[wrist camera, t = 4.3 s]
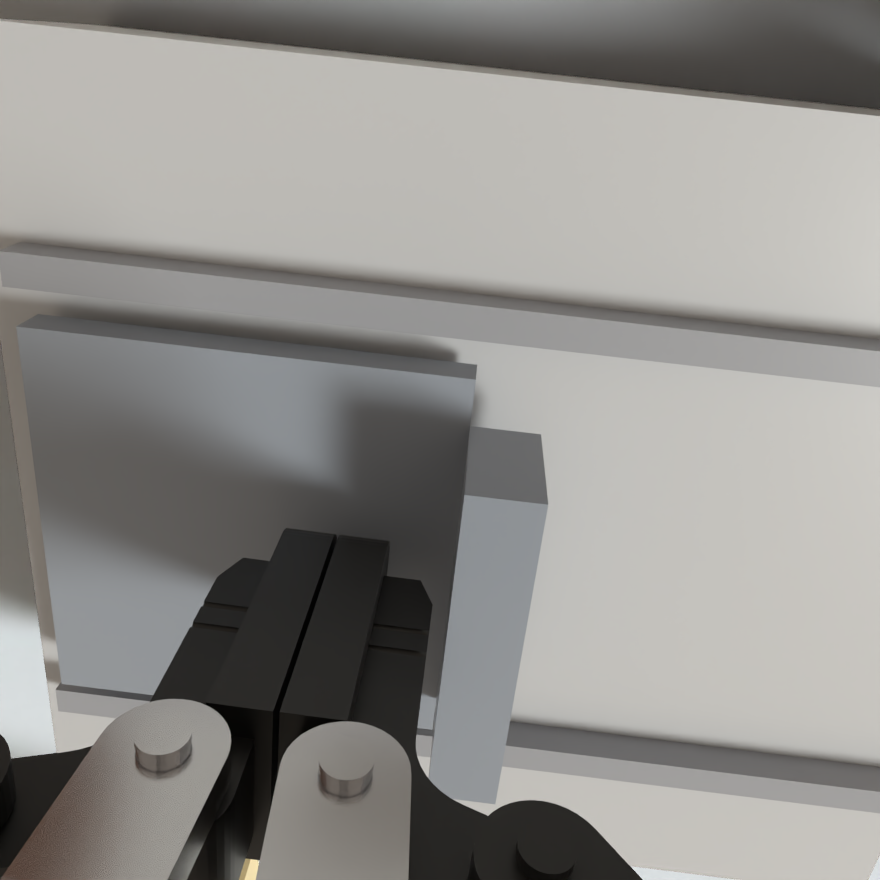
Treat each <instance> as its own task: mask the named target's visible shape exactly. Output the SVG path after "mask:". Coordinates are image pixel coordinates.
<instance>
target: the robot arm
mask: <svg viewBox="0 0 880 880" xmlns="http://www.w3.org/2000/svg"><path fill="white" fill-rule="evenodd" d="M389 549H390V541H386V540H378V539H370V538H362V537H355V536H347V535H339V537H338V539H337V535H336V534H330V533H322V532H314V531H307V530H299V529H291V528H285V529H284V531H283V533H282V535H281V537H280V539H279V542H278V544H277V546H276V548H275V550H274V553H273V555H272V557H271V559H270V561H266V560H258V559H250V558H242V559H240V560H239V561H238V562H236V563H235V564H234V565H232V566H231V567H230V568H228V569H227V570H226V571H224V572H223V573H222V574H220V575H219V576H218V577H217V578H216V580H215V582H214V584H213V585H212V587H211V589H210V591H209V593H208V595H207V596H206V598H205V600H204V604H203V606H201V608H200V609H199V611H198V613H197V615H196V617H195V619H194V621H193V625H192V627H190V628H189V630H188V632H187V634H186V635H185V637H184V639H183V641H182V643H181V645H180V647H179V648H178V650H177V652H176V654H175V656H174V658H173V660H172V661H171V663H170V665H169V667H168V669H167V671H166V673H165V674H164V676H163V678H162V680H161V682H160V684H159V686H158V687H157V689H156V691H155V693H154V695H153V697H152V699H151V700H150V702H149V703H145V704H142V705H140V706H137V707H135V708H133V709H131V710H129V711H127V712H125V713H123V714H122V715H120V716H119V717H117V718H116V719H115V720H114V721H113V722H111V723H110V724H109V725H108V726H107V727H106V729H105V730H104V731H103V732H102V733H101V735H100V736H99V738H98V739H97V741H96V742H95V743H94V745H93V746H90V747H86V748H82V749H79V750H73V751H68V752H61V753H53V754H45V755H37V756H29V757H21V758H13V759H11V756H10V751H9V747H8V744H7V742H6V741H5V739H4V738H3V737H2V736H1V735H0V880H239V878H240V874H241V871H242V868H243V865H244V862H245V859H253V860H260V862H259V866H258V871H257V876H256V880H642V879H641V878H640V876H639V875H638V874H637V873H636V872H635V871H634V870H633V869H632V868H631V867H630V866H629V865H628V863H627V862H626V861H625V860H624V859H623V858H622V857H621V856H620V855H619V854H618V853H617V852H616V850H615V849H614V848H613V847H612V846H611V845H610V844H609V843H608V842H607V841H606V840H605V839H604V838H603V836H602V835H601V834H600V833H599V832H598V831H597V830H596V829H595V828H594V827H593V826H592V825H591V824H590V823H589V822H588V821H586V820H585V819H584V818H582V817H581V816H579V815H578V814H577V813H575V812H573V811H571V810H569V809H567V808H565V807H562V806H560V805H557V804H554V803H550V802H545V801H537V800H524V801H517V802H512V803H509V804H507V805H504V806H502V807H500V808H498V809H497V810H495V811H493V812H492V813H491V814H490V815H489V816H487V815H485V814H483V813H481V812H478V811H476V810H474V809H472V808H469V807H467V806H465V805H463V804H461V803H459V802H457V801H455V800H453V799H451V798H450V797H448V796H447V795H445V794H444V793H443V792H441V791H440V790H439V789H438V788H437V787H436V786H435V785H434V784H433V783H432V782H431V781H430V780H429V778H428V777H427V776H426V774H425V773H424V771H423V769H422V768H421V766H420V763H419V760H418V757H417V752H416V734H417V726H418V718H419V710H420V702H421V694H422V686H423V678H424V670H425V662H426V654H427V646H428V638H429V630H430V622H431V614H432V606H433V604H432V602H431V600H430V598H429V596H428V594H427V592H426V590H425V588H424V586H423V584H422V582H421V580H414V579H406V578H398V577H391V576H387V571H388V561H389Z"/></svg>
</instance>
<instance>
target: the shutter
mask: <svg viewBox="0 0 880 880" xmlns="http://www.w3.org/2000/svg"><path fill="white" fill-rule="evenodd" d="M16 329H17V337H18V345H19V353H20V361H21V369H22V377H23V385H24V392H25V400H26V408H27V416H28V424H29V432H30V440H31V447H32V455H33V463H34V471H35V479H36V487H37V495H38V503H39V510H40V518H41V526H42V534H43V542H44V550H45V558H46V566H47V573H48V581H49V589H50V597H51V605H52V613H53V621H54V629H55V636H56V644H57V652H58V660H59V668H60V676H61V684H66V685H74V686H82V687H91V688H99V689H107V690H115V691H123V692H131V693H139V694H147V695H154V693H155V691H156V689H157V687H158V686H159V684H160V682H161V680H162V678H163V676H164V674H165V673H166V671H167V669H168V667H169V665H170V663H171V661H172V660H173V658H174V656H175V654H176V652H177V650H178V648H179V647H180V645H181V643H182V641H183V639H184V637H185V635H186V634H187V632H188V630H189V628H190V627H192V625H193V621H194V619H195V617H196V615H197V613H198V611H199V609H200V608H201V606H203V604H204V600H205V598H206V596H207V595H208V593H209V591H210V589H211V587H212V585H213V584H214V582H215V580H216V578H217V577H218V576H219V575H220V574H222V573H223V572H224V571H226V570H227V569H228V568H230V567H231V566H232V565H234V564H235V563H236V562H238V561H239V560H240V559H242V558H250V559H258V560H266V561H270V559H271V557H272V555H273V553H274V550H275V548H276V546H277V544H278V542H279V539H280V537H281V535H282V533H283V531H284V529H285V528H291V529H299V530H307V531H314V532H322V533H330V534H336V535H337V539H338V537H339V535H347V536H355V537H362V538H370V539H378V540H386V541H390V549H389V561H388V571H387V576H391V577H398V578H406V579H414V580H421V582H422V584H423V586H424V588H425V590H426V592H427V594H428V596H429V598H430V600H431V602H432V604H433V606H432V614H431V622H430V630H429V638H428V646H427V654H426V662H425V670H424V678H423V686H422V694H421V702H420V710H419V718H418V726H417V728H422V729H430V730H432V729H433V737H432V747H431V756H430V766H429V776H428V778H429V780H430V781H431V782H432V783H433V784H434V785H435V786H436V787H437V788H438V789H439V790H440V791H441V792H443V793H444V794H445V795H447V796H448V797H450V798H451V799H456V800H464V801H472V802H480V803H488V804H495V803H496V798H497V792H498V787H499V781H500V775H501V770H502V764H503V758H504V753H505V747H506V741H507V736H508V730H509V724H510V719H511V713H512V707H513V702H514V696H515V690H516V685H517V679H518V673H519V668H520V662H521V656H522V651H523V645H524V639H525V634H526V628H527V622H528V617H529V611H530V606H531V600H532V594H533V589H534V583H535V577H536V572H537V566H538V560H539V555H540V549H541V543H542V538H543V532H544V526H545V521H546V515H547V509H548V497H547V487H546V477H545V468H544V458H543V448H542V438H541V434H534V433H526V432H517V431H509V430H500V429H491V428H483V427H474V426H470V424H471V416H472V408H473V400H474V392H475V384H476V373H477V365H475V364H467V363H458V362H449V361H441V360H432V359H423V358H415V357H406V356H397V355H389V354H380V353H371V352H363V351H354V350H345V349H336V348H328V347H319V346H310V345H302V344H293V343H284V342H276V341H267V340H258V339H250V338H241V337H232V336H224V335H215V334H206V333H198V332H189V331H180V330H172V329H163V328H154V327H146V326H137V325H128V324H120V323H111V322H102V321H94V320H85V319H76V318H68V317H59V316H50V315H42V314H37V315H35V316H34V317H32V318H30V319H28V320H27V321H25V322H23V323H21V324H20V325H18V326H16ZM435 705H436V707H435ZM434 713H435V717H434ZM433 721H434V727H433Z"/></svg>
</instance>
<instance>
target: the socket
mask: <svg viewBox="0 0 880 880" xmlns="http://www.w3.org/2000/svg"><path fill="white" fill-rule="evenodd" d="M37 314H42V315H50V316H59V317H68V318H76V319H85V320H94V321H102V322H111V323H120V324H128V325H137V326H146V327H154V328H163V329H172V330H180V331H189V332H198V333H206V334H215V335H224V336H232V337H241V338H250V339H258V340H267V341H276V342H284V343H293V344H302V345H310V346H319V347H328V348H336V349H345V350H354V351H363V352H371V353H380V354H389V355H397V356H406V357H415V358H423V359H432V360H441V361H449V362H458V363H467V364H475V365H477V373H476V384H475V392H474V400H473V408H472V416H471V424H470V426H474V427H483V428H491V429H500V430H509V431H517V432H526V433H534V434H541V438H542V448H543V458H544V468H545V477H546V487H547V497H548V509H547V515H546V521H545V526H544V532H543V538H542V543H541V549H540V555H539V560H538V566H537V572H536V577H535V583H534V589H533V594H532V600H531V606H530V611H529V617H528V622H527V628H526V634H525V639H524V645H523V651H522V656H521V662H520V668H519V673H518V679H517V685H516V690H515V696H514V702H513V707H512V713H511V719H510V724H509V730H508V736H507V741H506V747H505V753H504V758H503V764H502V770H501V775H500V781H499V787H498V792H497V798H496V803H495V804H488V803H480V802H472V801H464V800H456V799H453V800H455V801H457V802H459V803H461V804H463V805H465V806H467V807H469V808H472V809H474V810H476V811H478V812H481V813H483V814H485V815H487V816H489V815H490V814H491V813H492V812H493V811H495V810H497V809H498V808H500V807H502V806H504V805H507V804H509V803H512V802H517V801H524V800H537V801H545V802H550V803H554V804H557V805H560V806H562V807H565V808H567V809H569V810H571V811H573V812H575V813H577V814H578V815H579V816H581V817H582V818H584V819H585V820H586V821H588V822H589V823H590V824H591V825H592V826H593V827H594V828H595V829H596V830H597V831H598V832H599V833H600V834H601V835H602V836H603V838H604V839H605V840H606V841H607V842H608V843H609V844H610V845H611V846H612V847H613V848H614V849H615V850H616V852H617V853H618V854H619V855H620V856H621V857H622V858H623V859H624V860H625V861H626V862H627V863H628V865H629V866H634V867H642V868H650V869H657V870H665V871H673V872H681V873H689V874H697V875H705V876H713V877H721V878H729V879H737V880H868V879H869V877H870V875H871V873H872V871H873V869H874V866H875V864H876V862H877V860H878V858H879V856H880V109H874V108H865V107H856V106H846V105H837V104H828V103H819V102H810V101H800V100H791V99H782V98H773V97H763V96H754V95H745V94H736V93H727V92H717V91H708V90H699V89H690V88H681V87H671V86H662V85H653V84H644V83H634V82H625V81H616V80H607V79H598V78H588V77H579V76H570V75H561V74H551V73H542V72H533V71H524V70H515V69H505V68H496V67H487V66H478V65H468V64H459V63H450V62H441V61H432V60H422V59H413V58H404V57H395V56H385V55H376V54H367V53H358V52H349V51H339V50H330V49H321V48H312V47H302V46H293V45H284V44H275V43H266V42H256V41H247V40H238V39H229V38H220V37H210V36H201V35H192V34H183V33H173V32H164V31H155V30H146V29H137V28H127V27H118V26H109V25H95V24H79V23H62V22H46V21H30V20H14V19H0V342H1V349H2V356H3V364H4V371H5V378H6V386H7V393H8V400H9V408H10V415H11V422H12V430H13V437H14V444H15V452H16V459H17V466H18V474H19V481H20V488H21V496H22V503H23V510H24V518H25V525H26V532H27V539H28V547H29V554H30V561H31V569H32V576H33V583H34V591H35V598H36V605H37V613H38V620H39V627H40V635H41V642H42V649H43V657H44V664H45V671H46V679H47V686H48V693H49V701H50V708H51V715H52V722H53V730H54V737H55V744H56V752H57V753H61V752H68V751H73V750H79V749H82V748H86V747H90V746H93V745H94V743H95V742H96V741H97V739H98V738H99V736H100V735H101V733H102V732H103V731H104V730H105V729H106V727H107V726H108V725H109V724H110V723H111V722H113V721H114V720H115V719H116V718H117V717H119V716H120V715H122V714H123V713H125V712H127V711H129V710H131V709H133V708H135V707H137V706H140V705H142V704H145V703H149V702H150V700H151V699H152V697H153V695H147V694H139V693H131V692H123V691H115V690H107V689H99V688H91V687H82V686H74V685H66V684H61V676H60V668H59V660H58V652H57V644H56V636H55V629H54V621H53V613H52V605H51V597H50V589H49V581H48V573H47V566H46V558H45V550H44V542H43V534H42V526H41V518H40V510H39V503H38V495H37V487H36V479H35V471H34V463H33V455H32V447H31V440H30V432H29V424H28V416H27V408H26V400H25V392H24V385H23V377H22V369H21V361H20V353H19V345H18V337H17V329H16V326H18V325H20V324H21V323H23V322H25V321H27V320H28V319H30V318H32V317H34V316H35V315H37ZM435 707H436V705H435ZM434 717H435V713H434ZM433 727H434V721H433ZM432 737H433V729H432V730H430V729H422V728H417V734H416V752H417V757H418V760H419V763H420V766H421V768H422V769H423V771H424V773H425V774H426V776H427V777H428V776H429V766H430V756H431V747H432Z"/></svg>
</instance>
